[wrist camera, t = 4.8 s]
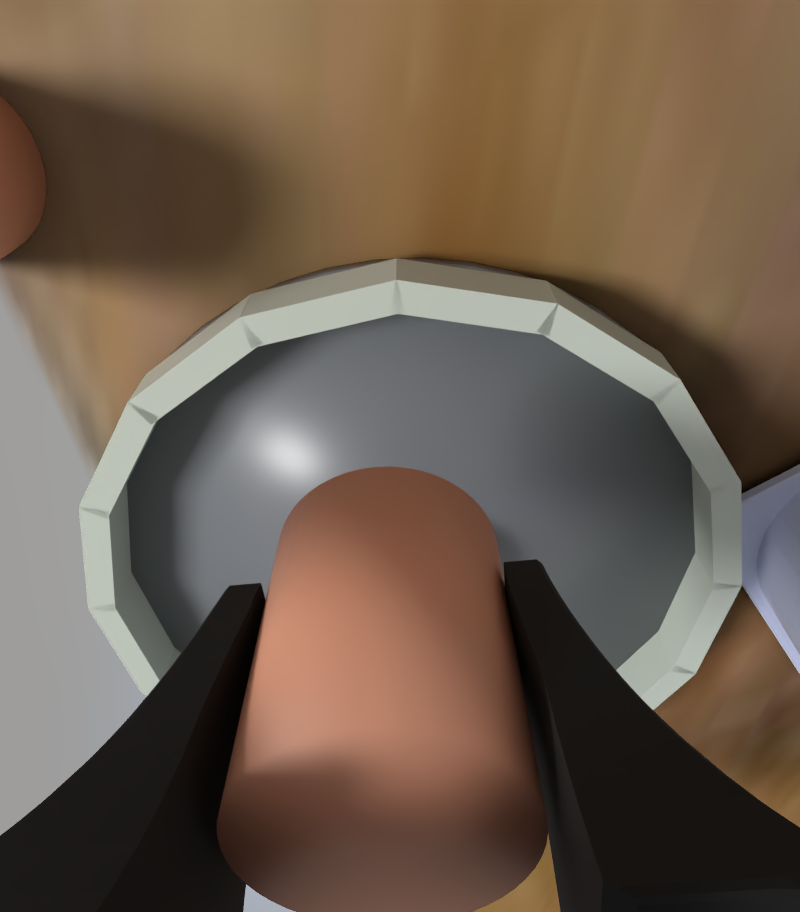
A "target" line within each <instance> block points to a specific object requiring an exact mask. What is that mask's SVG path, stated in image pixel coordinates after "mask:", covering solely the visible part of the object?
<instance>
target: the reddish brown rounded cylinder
mask: <svg viewBox="0 0 800 912" xmlns="http://www.w3.org/2000/svg"><path fill="white" fill-rule="evenodd" d="M45 202H46V177H45V171H44V166H43V162H42V159H41V155H40V153H39V150H38V148H37V145H36V143H35V141H34V139H33V137H32V135H31V133H30V131H29V130H28V128H27V126H26V125H25V123H24V122H23V121H22V119H21V118H20V116H19V115H18V114H17V113H16V111H15V110H14V109H13V108H12V107H11V105H10V104H9V103H8V102H7V101H6V100H5V99H4V98H3V97H2V96H1V95H0V259H2V258H3V257H5V256H6V255H8V254H9V253H11V252H12V251H14V250H15V249H17V248H18V247H19V246H20V245H22V244H23V243H24V242H26V240H27V239H28V238H29V237H30V236H31V235H32V234H33V232H34V231H35V229H36V228H37V226H38V224H39V222H40V220H41V217H42V215H43V211H44V207H45Z"/></svg>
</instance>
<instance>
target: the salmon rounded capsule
mask: <svg viewBox="0 0 800 912" xmlns="http://www.w3.org/2000/svg"><path fill="white" fill-rule="evenodd" d="M547 835H548V826H547V817H546V811H545V806H544V800H543V794H542V789H541V783H540V778H539V772H538V767H537V761H536V756H535V750H534V744H533V739H532V733H531V728H530V722H529V717H528V711H527V705H526V700H525V694H524V689H523V683H522V678H521V672H520V666H519V661H518V655H517V650H516V644H515V639H514V634H513V629H512V624H511V619H510V613H509V608H508V602H507V596H506V591H505V583H504V577H503V572H502V566H501V561H500V555H499V550H498V544H497V539H496V536H495V532H494V529H493V527H492V524H491V522H490V520H489V518H488V517H487V515H486V514H485V512H484V511H483V509H482V508H481V507H480V506H479V504H478V503H477V502H476V501H475V500H474V499H473V498H472V497H471V496H470V495H468V494H467V493H466V492H465V491H463V490H462V489H461V488H459V487H458V486H456V485H454V484H453V483H451V482H449V481H447V480H445V479H443V478H441V477H439V476H436V475H433V474H430V473H427V472H424V471H420V470H415V469H410V468H402V467H372V468H364V469H359V470H355V471H351V472H347V473H344V474H341V475H339V476H336V477H334V478H331V479H330V480H328V481H326V482H324V483H322V484H320V485H319V486H317V487H316V488H314V489H313V490H311V491H310V492H309V493H308V494H306V495H305V496H304V497H303V498H302V499H301V500H300V501H299V502H298V503H297V505H296V506H295V507H294V508H293V509H292V511H291V512H290V514H289V516H288V517H287V519H286V521H285V523H284V526H283V528H282V531H281V534H280V538H279V543H278V547H277V552H276V556H275V561H274V565H273V570H272V574H271V579H270V583H269V588H268V592H267V597H266V601H265V606H264V610H263V615H262V619H261V624H260V628H259V633H258V637H257V642H256V647H255V651H254V656H253V660H252V665H251V669H250V674H249V678H248V683H247V687H246V692H245V696H244V701H243V705H242V710H241V714H240V719H239V723H238V728H237V732H236V737H235V741H234V746H233V750H232V755H231V759H230V764H229V768H228V773H227V777H226V782H225V787H224V791H223V796H222V800H221V805H220V809H219V814H218V819H217V838H218V842H219V846H220V849H221V851H222V853H223V856H224V858H225V860H226V861H227V863H228V864H229V866H230V867H231V868H232V870H233V871H234V872H235V873H236V874H237V875H238V876H239V877H240V878H241V879H242V880H243V881H244V882H245V883H246V884H247V885H248V886H250V887H251V888H252V889H254V890H255V891H256V892H258V893H259V894H261V895H262V896H264V897H266V898H267V899H269V900H271V901H273V902H275V903H277V904H279V905H281V906H283V907H285V908H288V909H290V910H293V911H296V912H472V911H475V910H477V909H480V908H482V907H484V906H487V905H489V904H490V903H492V902H494V901H496V900H498V899H500V898H502V897H503V896H505V895H506V894H508V893H509V892H511V891H512V890H513V889H515V888H516V887H517V886H518V885H519V884H520V883H522V882H523V881H524V880H525V879H526V878H527V877H528V876H529V874H530V873H531V872H532V871H533V870H534V869H535V867H536V865H537V864H538V862H539V860H540V859H541V857H542V855H543V852H544V849H545V846H546V843H547Z"/></svg>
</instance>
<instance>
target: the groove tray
mask: <svg viewBox="0 0 800 912" xmlns="http://www.w3.org/2000/svg"><path fill="white" fill-rule="evenodd" d="M372 467H402V468H410V469H415V470H420V471H424V472H427V473H430V474H433V475H436V476H439V477H441V478H443V479H445V480H447V481H449V482H451V483H453V484H454V485H456V486H458V487H459V488H461V489H462V490H463V491H465V492H466V493H467V494H468V495H470V496H471V497H472V498H473V499H474V500H475V501H476V502H477V503H478V504H479V506H480V507H481V508H482V509H483V511H484V512H485V514H486V515H487V517H488V518H489V520H490V522H491V524H492V527H493V529H494V532H495V536H496V539H497V544H498V550H499V555H500V561H501V566H502V572H503V577H504V562H510V561H522V560H534V559H537V560H538V561H540V562H541V563H542V564H543V566H544V568H545V570H546V572H547V574H548V576H549V577H550V579H551V581H552V583H553V584H554V586H555V588H556V589H557V591H558V593H559V594H560V596H561V597H562V599H563V601H564V602H565V604H566V605H567V607H568V608H569V610H570V611H571V613H572V614H573V615H574V617H575V618H576V620H577V621H578V623H579V624H580V625H581V627H582V628H583V629H584V631H585V632H586V633H587V635H588V636H589V637H590V639H591V640H592V641H593V643H594V644H595V645H596V647H597V648H598V649H599V650H600V652H601V653H602V654H603V655H604V657H605V658H606V659H607V660H608V661H609V663H610V664H611V665H612V666H613V667H614V668H615V670H616V671H617V672H618V673H619V674H620V676H621V677H622V678H623V679H624V680H625V681H626V682H627V683H628V685H629V686H630V687H631V688H632V689H633V690H634V691H635V692H636V693H637V694H638V695H639V696H640V697H641V699H642V700H643V701H644V702H645V703H646V704H647V705H648V706H649V707H650V708H651V709H652V710H654V709H655V708H656V707H657V706H659V705H660V704H661V703H662V702H663V701H664V700H666V699H667V698H668V697H669V696H670V695H672V694H673V693H674V692H675V691H676V690H677V689H679V688H680V687H681V686H682V685H683V684H684V683H686V682H687V681H688V680H689V679H690V678H692V677H693V676H694V675H695V674H696V672H697V670H698V669H699V667H700V665H701V663H702V661H703V659H704V657H705V655H706V653H707V651H708V649H709V648H710V646H711V644H712V642H713V640H714V638H715V636H716V634H717V632H718V630H719V628H720V627H721V625H722V623H723V621H724V619H725V617H726V615H727V613H728V611H729V609H730V608H731V606H732V604H733V602H734V600H735V598H736V596H737V594H738V592H739V590H740V588H741V587H742V503H741V483H742V482H741V481H740V479H739V477H738V476H737V474H736V472H735V471H734V469H733V467H732V466H731V464H730V462H729V461H728V459H727V457H726V456H725V454H724V452H723V450H722V449H721V447H720V445H719V444H718V442H717V440H716V439H715V437H714V435H713V434H712V432H711V430H710V429H709V427H708V425H707V424H706V422H705V420H704V419H703V417H702V415H701V413H700V412H699V410H698V408H697V407H696V405H695V403H694V402H693V400H692V398H691V397H690V395H689V393H688V392H687V390H686V388H685V387H684V385H683V383H682V381H681V380H680V378H679V377H678V375H677V374H676V373H675V371H674V370H673V368H672V367H671V366H670V364H669V363H668V361H667V360H666V359H665V357H664V356H663V354H662V353H661V352H659V351H658V350H656V349H654V348H653V347H651V346H650V345H648V344H646V343H645V342H643V341H642V340H640V339H638V338H637V337H636V336H635V335H634V334H633V333H632V332H630V331H629V330H628V329H626V328H625V327H623V326H622V325H621V324H619V323H618V322H617V321H615V320H614V319H613V318H611V317H610V316H609V315H607V314H606V313H604V312H603V311H602V310H600V309H599V308H597V307H595V306H593V305H591V304H589V303H587V302H586V301H584V300H582V299H580V298H578V297H576V296H574V295H572V294H571V293H569V292H567V291H565V290H563V289H561V288H559V287H556V286H554V285H552V284H551V283H549V282H548V281H545V280H538V279H534V278H531V277H529V276H526V275H523V274H520V273H518V272H514V271H509V270H504V269H500V268H495V267H491V266H486V265H482V264H477V263H473V262H465V261H453V260H441V259H429V258H406V259H399V258H395V259H384V260H370V261H364V262H358V263H353V264H347V265H341V266H336V267H330V268H325V269H321V270H318V271H315V272H312V273H309V274H306V275H302V276H299V277H296V278H293V279H290V280H287V281H283V282H280V283H278V284H276V285H274V286H272V287H269V288H267V289H265V290H263V291H260V292H256V293H251V294H250V295H248V296H247V297H246V298H245V299H243V300H242V301H240V302H238V303H236V304H235V305H233V306H232V307H230V308H229V309H227V310H226V311H224V312H223V313H221V314H220V315H218V316H217V317H215V318H214V319H212V320H211V321H209V322H208V323H206V324H205V325H203V326H202V327H201V328H199V329H198V330H197V331H196V332H195V333H194V334H193V335H192V336H190V337H189V338H188V339H187V340H186V341H185V342H184V343H183V344H182V345H180V346H179V347H178V348H177V349H176V350H175V351H174V352H173V353H171V355H170V356H169V357H168V358H166V359H165V360H164V361H162V362H161V363H160V364H158V365H157V366H156V367H155V368H153V369H152V370H151V371H149V372H148V373H147V374H146V375H145V376H144V378H143V379H142V381H141V382H140V384H139V385H138V387H137V388H136V390H135V392H134V393H133V395H132V396H131V398H130V399H129V401H128V402H127V405H126V407H125V409H124V411H123V413H122V416H121V418H120V420H119V422H118V424H117V426H116V428H115V431H114V433H113V435H112V437H111V439H110V441H109V443H108V446H107V448H106V450H105V452H104V454H103V456H102V458H101V461H100V463H99V465H98V467H97V469H96V471H95V474H94V476H93V478H92V480H91V482H90V484H89V486H88V489H87V491H86V493H85V495H84V497H83V500H82V502H81V504H80V506H79V515H80V527H81V537H82V548H83V559H84V570H85V580H86V591H87V601H88V609H89V611H90V612H91V614H92V615H93V617H94V618H95V620H96V622H97V623H98V625H99V627H100V628H101V629H102V631H103V632H104V634H105V636H106V637H107V639H108V641H109V642H110V644H111V645H112V647H113V648H114V650H115V652H116V653H117V655H118V657H119V658H120V660H121V661H122V663H123V664H124V666H125V668H126V669H127V671H128V672H129V674H130V675H131V677H132V678H133V680H134V682H135V683H136V685H137V687H138V688H139V690H140V691H141V692H142V693H143V694H144V695H146V696H148V694H149V693H150V692H151V691H152V690H153V688H154V687H155V686H156V685H157V683H158V682H159V681H160V680H161V679H162V677H163V676H164V675H165V674H166V672H167V671H168V670H169V668H170V667H171V666H172V664H173V663H174V662H175V660H176V659H177V658H178V656H179V655H180V654H181V652H182V651H183V650H184V648H185V647H186V646H187V644H188V643H189V642H190V640H191V639H192V637H193V636H194V634H195V633H196V632H197V630H198V629H199V627H200V626H201V625H202V623H203V622H204V620H205V619H206V617H207V616H208V615H209V613H210V612H211V610H212V609H213V607H214V606H215V604H216V603H217V601H218V600H219V599H220V597H221V596H222V594H223V593H224V591H225V590H226V589H227V588H228V587H229V586H230V585H242V584H254V583H261V585H262V588H263V592H264V596H265V599H266V597H267V592H268V588H269V583H270V579H271V574H272V570H273V565H274V561H275V556H276V552H277V547H278V543H279V538H280V534H281V531H282V528H283V526H284V523H285V521H286V519H287V517H288V516H289V514H290V512H291V511H292V509H293V508H294V507H295V506H296V505H297V503H298V502H299V501H300V500H301V499H302V498H303V497H304V496H305V495H306V494H308V493H309V492H310V491H311V490H313V489H314V488H316V487H317V486H319V485H320V484H322V483H324V482H326V481H328V480H330V479H331V478H334V477H336V476H339V475H341V474H344V473H347V472H351V471H355V470H359V469H364V468H372Z"/></svg>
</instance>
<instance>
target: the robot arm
mask: <svg viewBox="0 0 800 912" xmlns="http://www.w3.org/2000/svg"><path fill="white" fill-rule="evenodd" d="M741 503H742V586H743V587H744V589H745V591H746V592H747V594H748V595H749V597H750V598H751V600H752V601H753V603H754V604H755V606H756V607H757V609H758V611H759V612H760V614H761V615H762V617H763V618H764V620H765V621H766V623H767V624H768V626H769V627H770V629H771V630H772V632H773V634H774V635H775V637H776V638H777V640H778V641H779V643H780V644H781V646H782V647H783V649H784V650H785V652H786V654H787V655H788V657H789V658H790V660H791V661H792V663H793V664H794V666H795V667H796V669H797V670H798V672H799V673H800V464H799V465H797V466H795V467H793V468H791V469H789V470H787V471H785V472H783V473H782V474H780V475H778V476H776V477H774V478H772V479H770V480H768V481H766V482H764V483H762V484H760V485H758V486H756V487H754V488H752V489H750V490H748V491H746V492H744V493H743V494H741ZM504 583H505V591H506V596H507V602H508V608H509V613H510V619H511V624H512V629H513V634H514V639H515V644H516V650H517V655H518V661H519V666H520V672H521V678H522V683H523V689H524V694H525V700H526V705H527V711H528V717H529V722H530V728H531V733H532V739H533V744H534V750H535V756H536V761H537V767H538V772H539V778H540V783H541V789H542V794H543V800H544V806H545V811H546V817H547V826H548V833H549V840H550V846H551V852H552V859H553V865H554V871H555V878H556V884H557V890H558V897H559V903H560V910H561V912H800V828H799V827H798V826H796V825H795V824H793V823H792V822H790V821H789V820H787V819H786V818H784V817H783V816H781V815H780V814H778V813H777V812H775V811H774V810H772V809H771V808H770V807H768V806H767V805H765V804H764V803H763V802H761V801H760V800H758V799H757V798H756V797H754V796H753V795H752V794H750V793H749V792H748V791H746V790H745V789H744V788H742V787H741V786H740V785H739V784H737V783H736V782H735V781H733V780H732V779H731V778H729V777H728V776H727V775H725V774H724V773H723V772H722V771H721V770H720V769H718V768H717V767H716V766H715V765H714V764H712V763H711V762H710V761H709V760H708V759H706V758H705V757H704V756H703V755H702V754H701V753H699V752H698V751H697V750H696V749H695V748H693V747H692V746H691V745H690V744H689V743H687V742H686V741H685V740H684V739H683V738H682V737H681V736H679V735H678V734H677V733H676V732H675V731H674V730H673V729H672V728H671V727H670V726H669V725H668V724H667V723H666V722H665V721H664V720H663V719H661V718H660V717H659V716H658V715H657V714H656V713H655V712H654V711H653V710H652V709H651V708H650V707H649V706H648V705H647V704H646V703H645V702H644V701H643V700H642V699H641V697H640V696H639V695H638V694H637V693H636V692H635V691H634V690H633V689H632V688H631V687H630V686H629V685H628V683H627V682H626V681H625V680H624V679H623V678H622V677H621V676H620V674H619V673H618V672H617V671H616V670H615V668H614V667H613V666H612V665H611V664H610V663H609V661H608V660H607V659H606V658H605V657H604V655H603V654H602V653H601V652H600V650H599V649H598V648H597V647H596V645H595V644H594V643H593V641H592V640H591V639H590V637H589V636H588V635H587V633H586V632H585V631H584V629H583V628H582V627H581V625H580V624H579V623H578V621H577V620H576V618H575V617H574V615H573V614H572V613H571V611H570V610H569V608H568V607H567V605H566V604H565V602H564V601H563V599H562V597H561V596H560V594H559V593H558V591H557V589H556V588H555V586H554V584H553V583H552V581H551V579H550V577H549V576H548V574H547V572H546V570H545V568H544V566H543V564H542V563H541V562H540V561H538V560H537V559H534V560H522V561H510V562H504ZM265 601H266V599H265V596H264V592H263V588H262V585H261V583H254V584H242V585H230V586H229V587H228V588H227V589H226V590H225V591H224V593H223V594H222V596H221V597H220V599H219V600H218V601H217V603H216V604H215V606H214V607H213V609H212V610H211V612H210V613H209V615H208V616H207V617H206V619H205V620H204V622H203V623H202V625H201V626H200V627H199V629H198V630H197V632H196V633H195V634H194V636H193V637H192V639H191V640H190V642H189V643H188V644H187V646H186V647H185V648H184V650H183V651H182V652H181V654H180V655H179V656H178V658H177V659H176V660H175V662H174V663H173V664H172V666H171V667H170V668H169V670H168V671H167V672H166V674H165V675H164V676H163V677H162V679H161V680H160V681H159V682H158V683H157V685H156V686H155V687H154V688H153V690H152V691H151V692H150V693H149V694H148V696H147V697H146V698H145V699H144V700H143V702H142V703H141V704H140V705H139V707H138V708H137V709H136V710H135V711H134V712H133V714H132V715H131V716H130V717H129V718H128V719H127V721H126V722H125V723H124V724H123V725H122V726H121V727H120V728H119V729H118V730H117V731H116V732H115V734H114V735H113V736H112V737H111V738H110V739H109V740H108V741H107V742H106V743H105V744H104V745H103V746H102V747H101V748H100V749H99V750H98V751H97V752H96V753H95V754H94V755H93V756H92V757H91V758H90V759H89V760H88V761H87V762H86V763H85V764H84V765H83V766H82V767H81V768H79V770H77V771H76V772H75V773H74V774H73V775H72V776H71V777H70V778H69V779H68V780H66V781H65V782H64V783H63V784H62V785H61V786H60V787H59V788H57V789H56V790H55V791H54V792H53V793H52V794H51V795H50V796H49V797H48V798H46V799H45V800H44V801H43V802H42V803H41V804H39V805H38V806H37V807H36V808H35V809H33V810H32V811H31V812H30V813H28V814H27V815H26V816H25V817H24V818H22V819H21V820H20V821H19V822H17V823H16V824H15V825H14V826H12V827H11V828H10V829H9V830H7V831H6V832H5V833H3V834H2V835H1V836H0V912H243V906H244V897H245V888H246V883H245V882H244V881H243V880H242V879H241V878H240V877H239V876H238V875H237V874H236V873H235V872H234V871H233V870H232V868H231V867H230V866H229V864H228V863H227V861H226V860H225V858H224V856H223V853H222V851H221V849H220V846H219V842H218V838H217V819H218V814H219V809H220V805H221V800H222V796H223V791H224V787H225V782H226V777H227V773H228V768H229V764H230V759H231V755H232V750H233V746H234V741H235V737H236V732H237V728H238V723H239V719H240V714H241V710H242V705H243V701H244V696H245V692H246V687H247V683H248V678H249V674H250V669H251V665H252V660H253V656H254V651H255V647H256V642H257V637H258V633H259V628H260V624H261V619H262V615H263V610H264V606H265Z"/></svg>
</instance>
